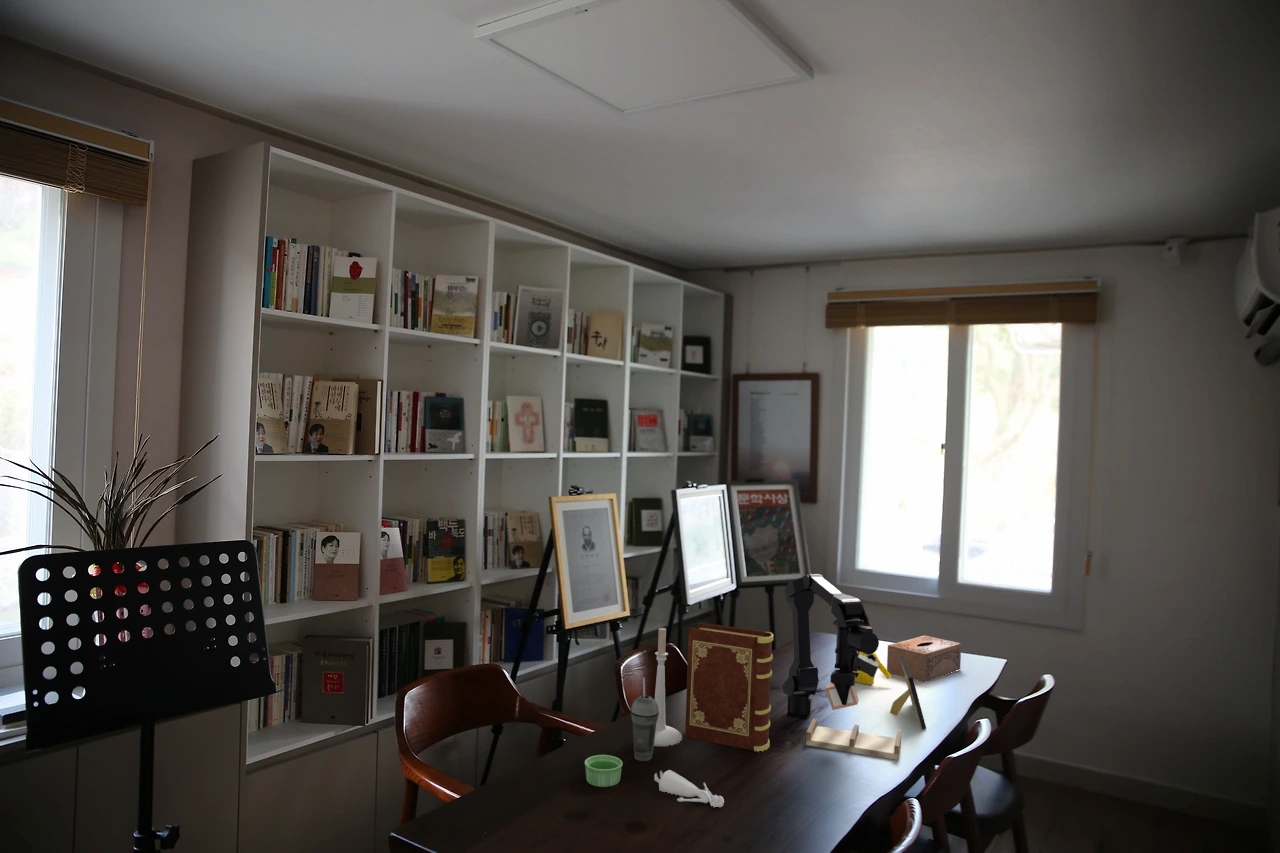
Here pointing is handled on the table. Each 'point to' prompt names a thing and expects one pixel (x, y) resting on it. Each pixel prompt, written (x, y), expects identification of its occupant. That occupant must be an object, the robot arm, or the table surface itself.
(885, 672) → the figure statuette
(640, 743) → the beverage cup
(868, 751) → the ledge
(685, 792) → the woman figurine
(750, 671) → the decorative book
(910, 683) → the picture frame
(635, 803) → the table surface
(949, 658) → the tissue box cover
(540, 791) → the table surface
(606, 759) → the ramekin
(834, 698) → the frame block
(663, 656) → the candlestick
